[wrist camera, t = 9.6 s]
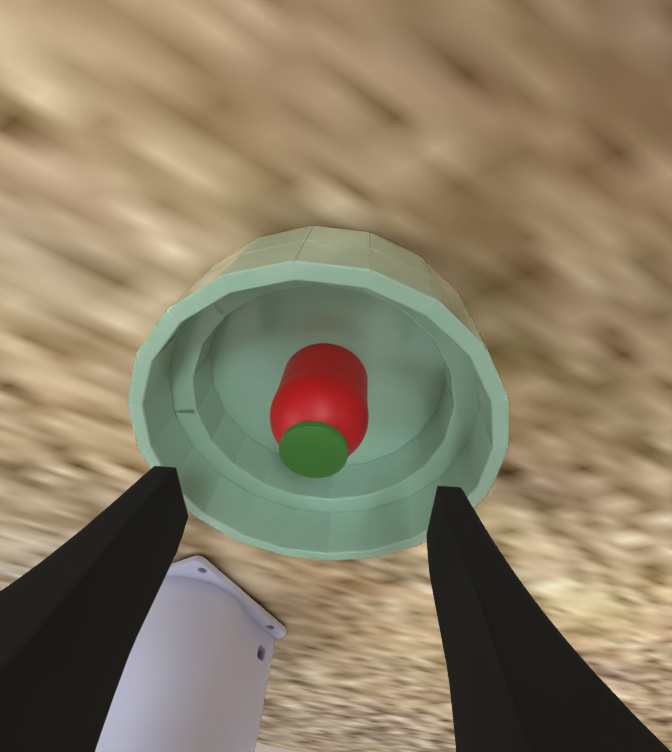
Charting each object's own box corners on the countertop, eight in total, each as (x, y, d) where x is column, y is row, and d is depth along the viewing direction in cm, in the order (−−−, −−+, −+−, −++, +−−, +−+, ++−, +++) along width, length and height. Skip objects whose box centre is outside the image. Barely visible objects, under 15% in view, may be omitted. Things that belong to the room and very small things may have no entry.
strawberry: (383, 394, 17) (387, 471, 13) (312, 425, 18) (297, 504, 14) (341, 326, 15) (332, 391, 11) (266, 364, 16) (235, 435, 13)
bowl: (517, 423, 18) (557, 506, 14) (289, 505, 21) (271, 588, 18) (393, 149, 12) (404, 161, 9) (122, 321, 16) (47, 383, 12)
